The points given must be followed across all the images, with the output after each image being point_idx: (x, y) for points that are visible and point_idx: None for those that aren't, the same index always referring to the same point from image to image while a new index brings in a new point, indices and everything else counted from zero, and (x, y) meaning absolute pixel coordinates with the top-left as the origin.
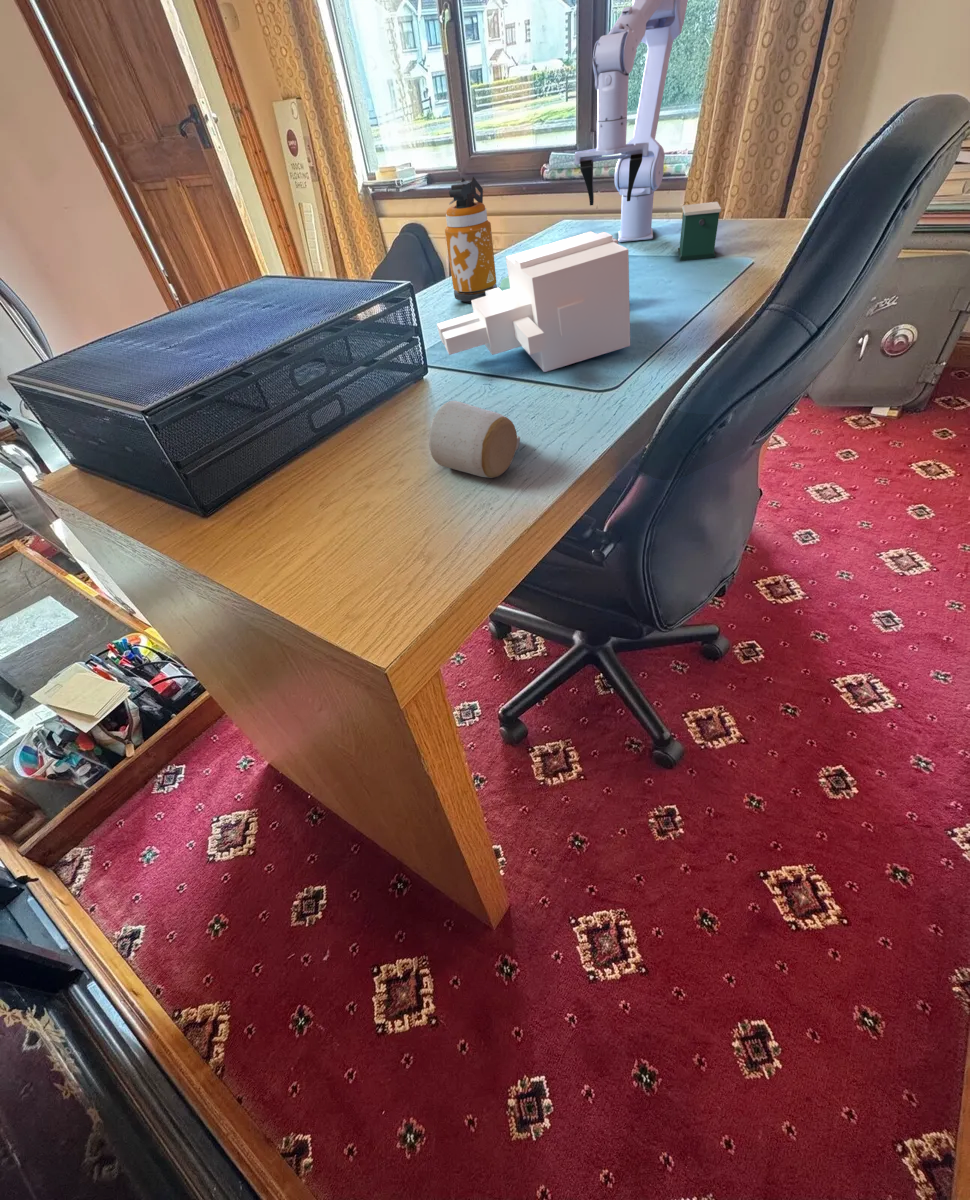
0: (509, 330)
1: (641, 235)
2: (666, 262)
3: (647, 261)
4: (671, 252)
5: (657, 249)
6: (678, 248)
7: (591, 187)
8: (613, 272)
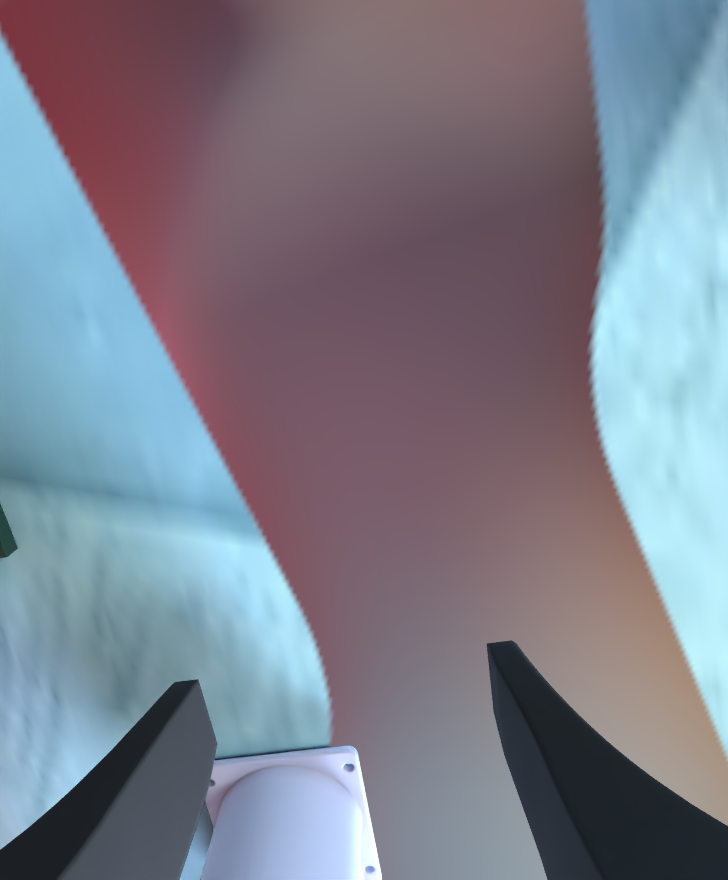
0: None
1: (248, 780)
2: (22, 382)
3: (130, 416)
4: (50, 552)
5: (135, 613)
6: (2, 549)
7: (540, 732)
8: None
